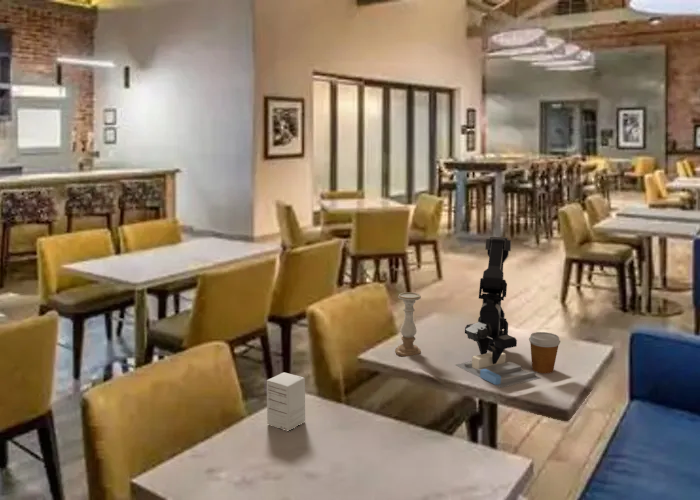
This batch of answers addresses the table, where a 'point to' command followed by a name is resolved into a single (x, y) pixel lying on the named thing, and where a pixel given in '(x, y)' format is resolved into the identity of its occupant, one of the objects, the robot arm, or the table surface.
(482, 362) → the cream rectangular block
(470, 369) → the duct tray
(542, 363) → the disposable coffee cup
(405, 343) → the candle holder
